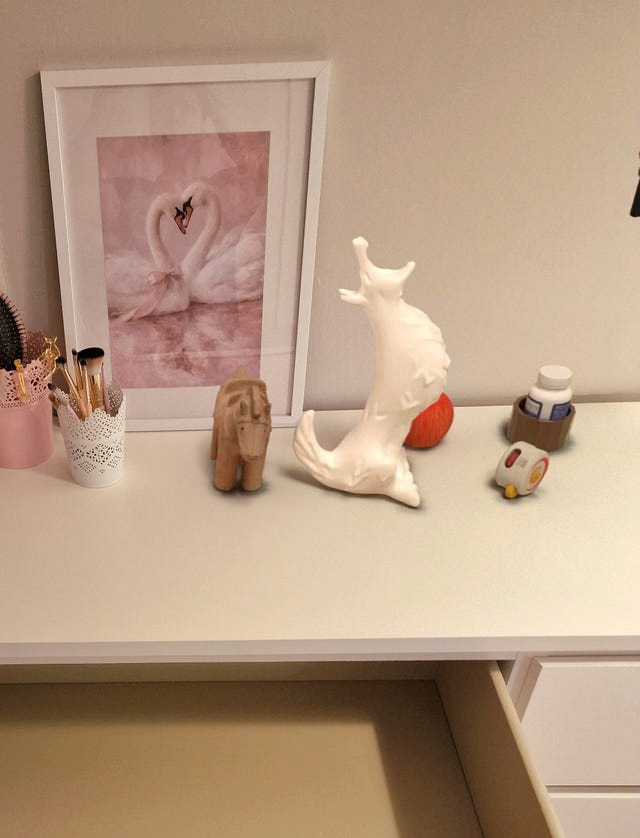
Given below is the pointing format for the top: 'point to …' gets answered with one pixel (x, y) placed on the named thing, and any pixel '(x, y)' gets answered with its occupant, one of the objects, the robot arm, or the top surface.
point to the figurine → (240, 431)
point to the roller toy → (521, 469)
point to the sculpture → (382, 391)
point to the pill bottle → (550, 393)
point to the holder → (539, 428)
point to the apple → (431, 424)
